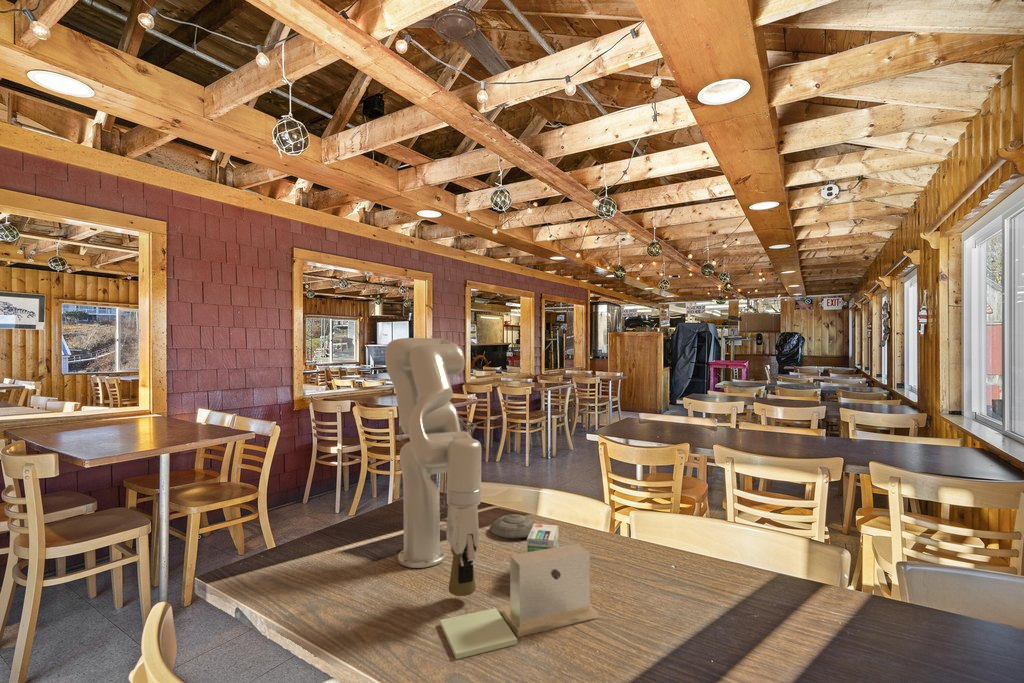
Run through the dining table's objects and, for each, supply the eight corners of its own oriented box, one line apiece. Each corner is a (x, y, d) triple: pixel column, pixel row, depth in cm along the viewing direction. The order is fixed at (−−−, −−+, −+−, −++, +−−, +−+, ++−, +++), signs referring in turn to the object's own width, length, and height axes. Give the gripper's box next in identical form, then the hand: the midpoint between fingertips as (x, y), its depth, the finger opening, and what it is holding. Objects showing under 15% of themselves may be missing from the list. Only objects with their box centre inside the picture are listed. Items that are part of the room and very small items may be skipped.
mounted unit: (500, 611, 106) (499, 549, 106) (574, 595, 112) (574, 537, 112) (518, 637, 96) (517, 569, 96) (597, 617, 103) (597, 554, 103)
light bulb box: (554, 586, 117) (554, 540, 117) (526, 583, 118) (526, 538, 118) (559, 566, 127) (559, 524, 127) (533, 564, 129) (533, 522, 129)
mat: (440, 624, 101) (440, 619, 101) (495, 612, 105) (495, 608, 105) (456, 659, 90) (456, 653, 90) (517, 644, 94) (517, 638, 94)
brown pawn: (449, 582, 113) (449, 534, 113) (475, 581, 114) (476, 533, 113) (447, 596, 107) (448, 546, 107) (475, 595, 107) (476, 545, 107)
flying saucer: (540, 542, 143) (539, 523, 144) (488, 542, 144) (488, 523, 144) (538, 524, 158) (538, 506, 159) (491, 524, 159) (491, 506, 159)
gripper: (438, 485, 116) (437, 563, 116) (457, 510, 100) (456, 599, 101) (469, 482, 119) (468, 558, 119) (492, 506, 103) (491, 593, 104)
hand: (462, 576), depth 110 cm, fingers closed on brown pawn, 3 cm apart
